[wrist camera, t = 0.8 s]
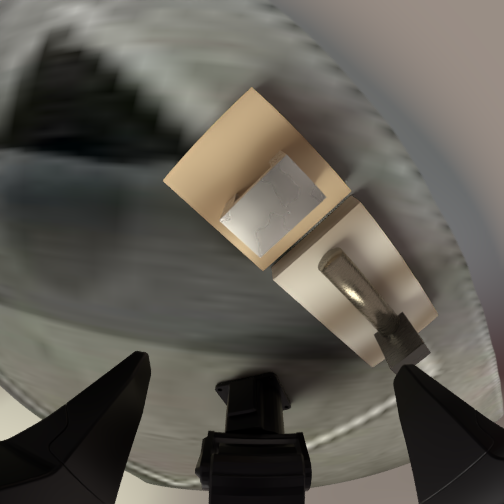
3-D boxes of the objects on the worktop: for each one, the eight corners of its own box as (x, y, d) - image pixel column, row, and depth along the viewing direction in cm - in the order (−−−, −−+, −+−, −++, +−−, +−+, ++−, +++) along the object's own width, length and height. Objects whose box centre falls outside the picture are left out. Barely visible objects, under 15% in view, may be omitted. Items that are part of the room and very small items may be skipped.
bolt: (407, 317, 21) (431, 353, 17) (380, 338, 22) (399, 378, 18) (342, 238, 19) (367, 271, 14) (309, 267, 19) (324, 307, 15)
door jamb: (429, 303, 23) (438, 315, 22) (366, 353, 26) (372, 367, 24) (251, 91, 17) (251, 87, 15) (171, 175, 19) (162, 180, 17)
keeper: (313, 185, 17) (326, 197, 14) (259, 235, 19) (260, 257, 16) (280, 150, 16) (286, 154, 13) (225, 204, 18) (219, 220, 15)
